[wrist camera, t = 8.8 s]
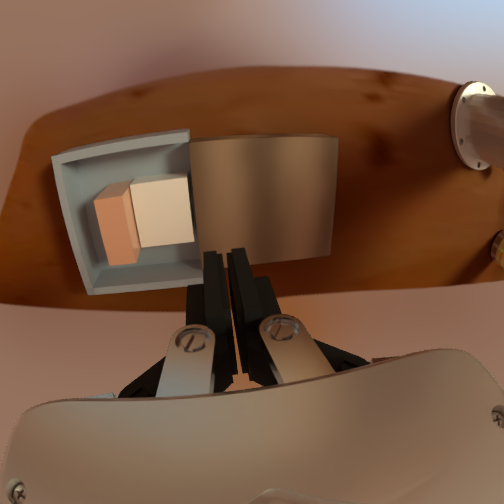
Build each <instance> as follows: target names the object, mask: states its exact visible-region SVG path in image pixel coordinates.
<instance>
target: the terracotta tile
mask: <svg viewBox="0 0 504 504" xmlns="http://www.w3.org/2000/svg"><path fill="white" fill-rule="evenodd" d="M132 181H133V180H131V181H125V182H118V183H112V184H109V185H108V186H107V187H106V188H105V189H104V190H103V191H102V192H101V193H100V194H99V195H98V197H97V198H96V199H95V200H94V205H95V209H96V214H97V218H98V223H99V227H100V231H101V235H102V239H103V243H104V247H105V250H106V254H107V258H108V261H109V265H110V266H114V265H123V264H132V263H136V262H137V259H138V256H139V253H140V250H141V243H140V238H139V234H138V229H137V224H136V218H135V213H134V207H133V202H132V196H131V190H130V184H131V183H132Z"/></svg>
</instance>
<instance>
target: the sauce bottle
mask: <svg viewBox="0 0 504 504" xmlns="http://www.w3.org/2000/svg"><path fill="white" fill-rule="evenodd" d="M491 257H492V258H493V259H494V260H495V261H496V262H497V263H498V264H499V265H500V266H501V267H503V268H504V230H502V231H500V232H499V233H498V234H497V236H496V237H495V239H494V241H493V244H492V247H491Z"/></svg>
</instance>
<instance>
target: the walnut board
mask: <svg viewBox="0 0 504 504" xmlns="http://www.w3.org/2000/svg"><path fill="white" fill-rule="evenodd" d="M338 144H339V138H338V137H334V136H331V135H327V134H253V135H234V136H219V137H206V138H196V139H190V141H189V150H190V163H191V174H192V185H193V195H194V205H195V215H196V224H197V233H198V241H199V250H200V258H201V266H202V270H204V263H203V252H207V251H217V254H220V253H222V256H223V263H224V268H227V267H228V266H227V255H226V253H230V252H231V249H234V248H243V247H245V250H246V254H247V257H248V261H249V264H250V265H254V264H263V263H272V262H280V261H289V260H298V259H306V258H315V257H323V256H330V252H331V243H332V233H333V222H334V211H335V198H336V183H337V166H338Z"/></svg>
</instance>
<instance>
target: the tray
mask: <svg viewBox="0 0 504 504" xmlns="http://www.w3.org/2000/svg"><path fill="white" fill-rule="evenodd" d="M189 141H190V132H189V129H180V130H171V131H163V132H156V133H149V134H142V135H136V136H130V137H124V138H118V139H113V140H108V141H103V142H98V143H93V144H88V145H84V146H79V147H75V148H71V149H68V150H65V151H63V152H61V153H59V154H56V155H54V156H52V163H53V169H54V175H55V180H56V185H57V190H58V195H59V199H60V204H61V208H62V212H63V216H64V220H65V224H66V228H67V231H68V235H69V239H70V242H71V246H72V249H73V252H74V255H75V259H76V262H77V265H78V268H79V271H80V274H81V277H82V280H83V283H84V285H85V288H86V291H87V294H88V295H98V294H110V293H122V292H133V291H144V290H155V289H165V288H175V287H185V286H188V285H193V284H203V270H202V266H201V258H200V250H199V241H198V233H197V224H196V215H195V205H194V195H193V185H192V174H191V163H190V150H189ZM184 171H188V177H189V187H190V196H191V206H192V214H193V223H194V242H187V243H178V244H169V245H160V246H151V247H143V248H141V250H140V253H139V256H138V259H137V262H136V263H132V264H123V265H114V266H110V265H109V261H108V258H107V254H106V250H105V247H104V243H103V239H102V235H101V231H100V227H99V223H98V218H97V214H96V209H95V205H94V200H95V199H96V198H97V197H98V195H99V194H100V193H101V192H102V191H103V190H104V189H105V188H106V187H107V186H108V185H109V184H112V183H118V182H125V181H131V180H134V179H135V178H138V177H145V176H152V175H160V174H167V173H176V172H184Z"/></svg>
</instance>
